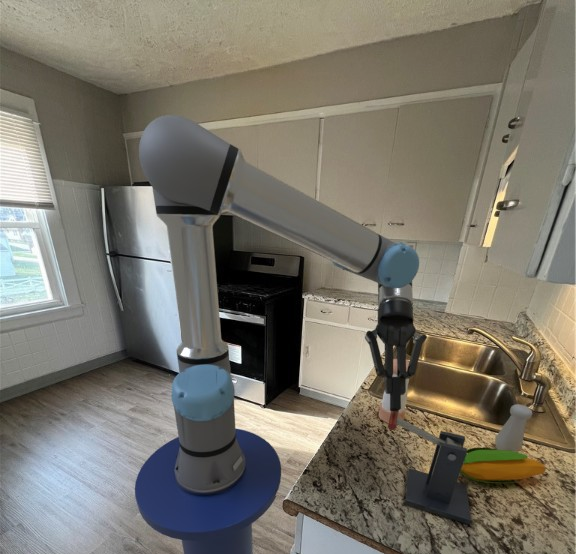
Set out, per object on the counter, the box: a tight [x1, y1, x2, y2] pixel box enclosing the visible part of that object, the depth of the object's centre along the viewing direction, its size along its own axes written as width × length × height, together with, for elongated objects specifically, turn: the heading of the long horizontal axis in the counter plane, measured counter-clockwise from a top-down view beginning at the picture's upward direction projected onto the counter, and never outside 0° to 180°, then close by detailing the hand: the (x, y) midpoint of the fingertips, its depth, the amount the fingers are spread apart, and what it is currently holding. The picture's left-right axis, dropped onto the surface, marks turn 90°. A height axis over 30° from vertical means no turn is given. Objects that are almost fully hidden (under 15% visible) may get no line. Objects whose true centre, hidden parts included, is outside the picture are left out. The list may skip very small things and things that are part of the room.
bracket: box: [404, 430, 472, 526], centre depth 64 cm, size 12×10×15 cm
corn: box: [460, 446, 547, 484], centre depth 71 cm, size 7×8×20 cm
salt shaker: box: [494, 403, 533, 453], centre depth 78 cm, size 6×6×13 cm
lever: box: [387, 411, 461, 447], centre depth 62 cm, size 14×6×2 cm, turn 68°
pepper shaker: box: [378, 358, 410, 424], centre depth 89 cm, size 7×7×19 cm
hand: (395, 409), depth 63 cm, fingers closed
